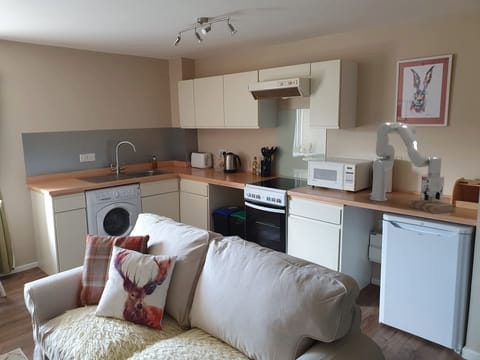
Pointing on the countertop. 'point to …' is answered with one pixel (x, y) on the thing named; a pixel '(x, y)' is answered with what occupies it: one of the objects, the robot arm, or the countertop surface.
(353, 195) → the countertop surface
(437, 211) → the board
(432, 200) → the peg
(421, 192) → the cracker box
